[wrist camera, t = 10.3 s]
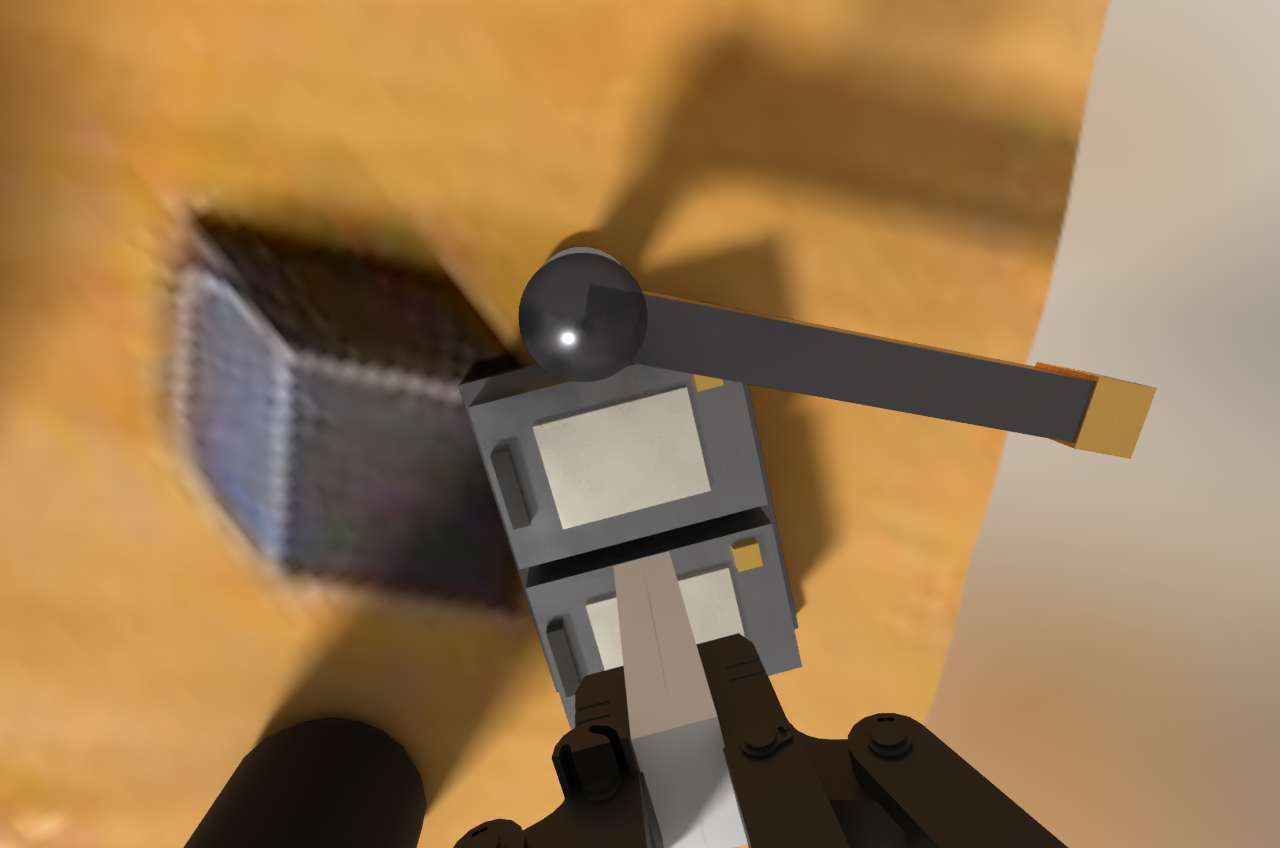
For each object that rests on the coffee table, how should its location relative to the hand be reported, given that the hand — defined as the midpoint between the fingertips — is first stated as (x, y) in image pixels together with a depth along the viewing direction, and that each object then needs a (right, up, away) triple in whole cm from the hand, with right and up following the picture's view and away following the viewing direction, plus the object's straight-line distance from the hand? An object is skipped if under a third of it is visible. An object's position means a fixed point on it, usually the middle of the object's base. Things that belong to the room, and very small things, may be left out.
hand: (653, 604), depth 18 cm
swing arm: (+7, +8, +10) cm, 14 cm away
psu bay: (0, 0, +19) cm, 19 cm away
